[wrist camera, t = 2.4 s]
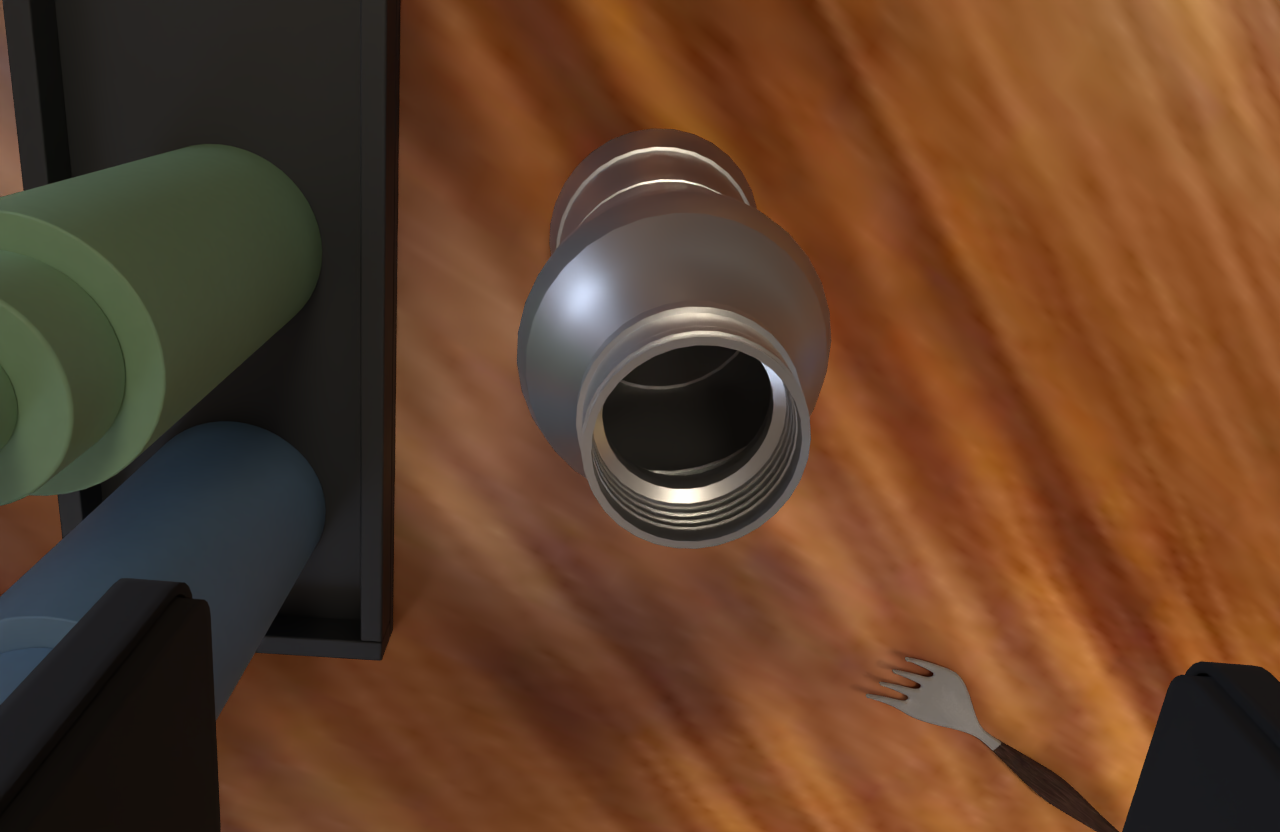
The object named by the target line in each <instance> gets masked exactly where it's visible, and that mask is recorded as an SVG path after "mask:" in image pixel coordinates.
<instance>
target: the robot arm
mask: <svg viewBox="0 0 1280 832" xmlns="http://www.w3.org/2000/svg"><path fill="white" fill-rule="evenodd" d="M0 832H220V804H219V782H218V761H217V739H216V717H215V696H214V674H213V652H212V631H211V614H210V607H209V605H208V602H207V601H206V600H205V599H193V598H192V593H191V590H190V588H189V586H188V585H187V584H186V583H185V582H173V581H160V580H147V579H134V578H121V579H119V580H118V581H117V582H115V583H114V584H113V585H112V586H111V587H110V588H109V589H108V590H107V591H106V593H105V594H104V595H103V596H102V597H101V598H100V599H99V600H98V601H97V602H96V603H95V604H94V605H93V606H92V608H91V609H90V610H89V611H88V612H87V613H86V614H85V615H84V616H83V617H82V618H81V619H80V620H79V621H78V622H77V624H76V625H75V626H74V627H73V628H72V629H71V630H70V631H69V632H68V633H67V634H66V635H65V636H64V637H63V639H62V640H61V641H60V642H59V643H58V644H57V645H56V646H55V647H54V648H53V649H52V650H51V651H50V652H49V653H48V655H47V656H46V657H45V658H44V659H43V660H42V661H41V662H40V663H39V664H38V665H37V666H36V667H35V668H34V670H33V671H32V672H31V673H30V674H29V675H28V676H27V677H26V678H25V679H24V680H23V681H22V682H21V683H20V685H19V686H18V687H17V688H16V689H15V690H14V691H13V692H12V693H11V694H10V695H9V696H8V697H7V698H6V699H5V701H4V702H3V703H2V704H1V705H0ZM1122 832H1280V682H1279V681H1278V680H1277V679H1276V678H1275V677H1274V676H1273V675H1272V674H1271V673H1269V672H1268V671H1267V670H1265V669H1264V668H1262V667H1258V666H1252V665H1240V664H1227V663H1214V662H1198V663H1195V664H1193V665H1192V666H1191V667H1190V668H1189V669H1188V670H1187V672H1186V674H1185V675H1180V676H1177V677H1175V678H1174V679H1173V680H1172V681H1171V683H1170V685H1169V688H1168V690H1167V693H1166V696H1165V699H1164V703H1163V706H1162V709H1161V712H1160V715H1159V718H1158V721H1157V725H1156V728H1155V731H1154V734H1153V737H1152V740H1151V743H1150V746H1149V750H1148V753H1147V756H1146V759H1145V762H1144V765H1143V768H1142V771H1141V775H1140V778H1139V781H1138V784H1137V787H1136V790H1135V793H1134V797H1133V800H1132V803H1131V806H1130V809H1129V812H1128V815H1127V818H1126V822H1125V825H1124V828H1123V831H1122Z"/></svg>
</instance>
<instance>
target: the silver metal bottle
mask: <svg viewBox="0 0 1280 832" xmlns="http://www.w3.org/2000/svg"><path fill="white" fill-rule="evenodd" d="M550 251H551V257H550V258H549V260H548V261H547V263H546V264H545V265H544V267H543V269H542V270H541V272H540V273H539V275H538V277H537V279H536V281H535V283H534V285H533V287H532V290H531V292H530V294H529V296H528V298H527V300H526V302H525V306H524V310H523V314H522V318H521V323H520V327H519V331H518V348H517V366H518V371H519V377H520V383H521V389H522V393H523V395H524V398H525V400H526V403H527V406H528V408H529V411H530V413H531V416H532V418H533V420H534V421H535V423H536V424H537V426H538V427H539V429H540V430H541V432H542V433H543V435H544V436H545V438H546V439H547V441H548V442H549V444H550V445H551V446H552V448H553V449H554V450H555V452H556V453H557V454H558V455H559V456H560V457H561V458H562V459H563V460H564V461H565V462H566V463H567V464H568V465H569V466H570V467H571V468H572V469H573V470H574V471H576V472H577V473H579V474H580V475H582V476H583V477H585V478H586V479H587V480H588V482H589V485H590V488H591V490H592V492H593V494H594V496H595V497H596V499H597V500H598V502H599V503H600V505H601V506H602V508H603V509H604V511H605V512H606V513H607V514H608V515H609V516H610V517H611V518H612V519H613V520H614V521H615V522H616V523H617V524H618V525H619V526H621V527H623V528H624V529H626V530H627V531H629V532H630V533H632V534H633V535H635V536H637V537H639V538H642V539H644V540H646V541H649V542H651V543H654V544H658V545H663V546H668V547H673V548H695V549H697V548H704V547H710V546H716V545H721V544H723V543H726V542H729V541H732V540H735V539H738V538H740V537H742V536H744V535H746V534H748V533H750V532H751V531H753V530H755V529H757V528H759V527H760V526H761V525H762V524H764V523H765V522H766V521H767V520H769V519H770V518H771V517H772V516H774V515H775V514H776V513H777V512H778V511H779V509H780V508H781V507H782V506H783V505H784V504H785V503H786V501H787V500H788V499H789V498H790V496H791V495H792V493H793V491H794V490H795V488H796V486H797V485H798V483H799V481H800V480H801V477H802V474H803V471H804V469H805V466H806V463H807V460H808V454H809V447H810V440H811V436H810V419H809V417H810V415H811V413H812V412H813V410H814V407H815V405H816V402H817V399H818V396H819V393H820V390H821V388H822V385H823V382H824V378H825V375H826V372H827V366H828V359H829V352H830V345H831V329H830V312H829V308H828V304H827V300H826V297H825V293H824V290H823V286H822V282H821V280H820V278H819V277H818V275H817V273H816V271H815V269H814V267H813V265H812V263H811V261H810V259H809V257H808V256H807V255H806V253H805V252H804V251H803V250H802V249H801V247H800V246H799V245H798V244H797V243H796V241H795V240H794V239H793V238H792V237H791V235H790V234H789V233H788V232H787V231H785V230H784V229H783V228H781V227H780V226H779V225H778V224H776V223H775V222H774V221H772V220H771V219H770V218H768V217H767V216H766V215H765V214H763V213H761V212H760V211H759V210H757V207H756V204H755V200H754V197H753V193H752V190H751V188H750V186H749V184H748V182H747V180H746V179H745V177H744V175H743V173H742V171H741V170H740V169H739V168H738V166H737V165H736V164H735V163H734V162H733V160H732V159H731V158H730V157H729V156H728V155H727V154H726V153H724V152H723V151H722V150H720V149H719V148H718V147H717V146H715V145H714V144H713V143H711V142H709V141H707V140H705V139H703V138H701V137H699V136H696V135H694V134H691V133H687V132H683V131H679V130H675V129H646V130H641V131H635V132H630V133H628V134H625V135H622V136H620V137H617V138H615V139H612V140H610V141H608V142H607V143H605V144H604V145H602V146H600V147H599V148H597V149H596V150H594V151H593V152H592V153H590V154H589V155H588V156H587V157H586V158H585V159H584V160H583V161H582V162H581V163H580V164H579V165H578V166H577V167H576V168H575V170H574V171H573V172H572V174H571V175H570V177H569V178H568V179H567V181H566V182H565V184H564V186H563V188H562V190H561V192H560V194H559V196H558V199H557V201H556V203H555V207H554V211H553V215H552V219H551V223H550Z"/></svg>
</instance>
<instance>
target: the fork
mask: <svg viewBox="0 0 1280 832" xmlns="http://www.w3.org/2000/svg"><path fill="white" fill-rule="evenodd" d="M905 659H906V661H909V662H912V663H915V664H917V665H919V666H921V667H923V668H926V669H928V670H930V671H931V672H933V676H931V677H925V676H921V675H917V674H913V673H909V672H905V671H900V670H894V669H893V670H892V671H893V672H894V673H895V674H898V675H901V676H903V677H906V678H908V679H910V680H913V681H915V682H917V683H919V684H920V685H921V687H920V688H918V689H913V688H909V687H905V686H901V685H897V684H892V683H886V682H879V683H880V685H882V686H885V687H888V688H890V689H893V690H896V691H898V692H900V693H903V694H905V695H907V696H908V699H907V700H897V699H893V698H889V697H884V696H879V695H873V694H866V697H867V698H871V699H875V700H878V701H881V702H883V703H886V704H889V705H891V706H893V707H895V708H897V709H899V710H901V711H902V712H904V713H906V714H907V715H909V716H911V717H913V718H916V719H918V720H921V721H924V722H928V723H931V724H935V725H939V726H944V727H948V728H952V729H956V730H960V731H963V732H966V733H969V734H971V735H973V736H975V737H977V738H978V739H980V740H981V741H983V742H984V743H985V744H986V745H987V746H988V747H989V748H990V749H991V750H992V751H994V752H995V753H996V754H997V755H998V756H999V757H1000V758H1001V759H1002V760H1003V761H1004V762H1005V763H1006V764H1007V765H1008V766H1009V767H1010V768H1011V769H1012V770H1013V771H1014V772H1015V773H1016V774H1017V775H1018V776H1019V777H1020V778H1021V779H1022V780H1023V781H1024V782H1025V783H1026V784H1027V785H1028V786H1029V787H1030V788H1031V789H1033V790H1034V791H1035V792H1036V793H1037V794H1038V795H1039V796H1041V797H1042V798H1043V799H1044V800H1046V801H1047V802H1049V803H1050V804H1052V805H1053V806H1055V807H1056V808H1058V809H1060V810H1061V811H1063V812H1065V813H1066V814H1068V815H1070V816H1071V817H1073V818H1075V819H1077V820H1078V821H1080V822H1082V823H1083V824H1085V825H1087V826H1088V827H1090V828H1092V829H1093V830H1095V831H1097V832H1119V831H1118V830H1116V829H1115V828H1114V827H1113V826H1112V825H1111V824H1110V823H1109V822H1108V821H1107V820H1106V819H1105V818H1103V817H1102V816H1101V815H1100V814H1099V813H1098V812H1097V811H1096V810H1095V809H1094V808H1093V807H1092V806H1091V805H1090V804H1089V803H1088V802H1087V801H1086V800H1085V799H1084V798H1083V797H1082V796H1081V795H1080V794H1079V793H1078V792H1077V791H1076V790H1075V789H1074V788H1073V787H1071V786H1070V785H1069V784H1068V783H1067V782H1066V781H1065V780H1063V779H1062V778H1061V777H1059V776H1058V775H1057V774H1055V773H1054V772H1052V771H1051V770H1049V769H1047V768H1046V767H1044V766H1043V765H1041V764H1039V763H1037V762H1036V761H1034V760H1032V759H1031V758H1029V757H1027V756H1026V755H1024V754H1022V753H1020V752H1019V751H1017V750H1015V749H1013V748H1012V747H1010V746H1008V745H1006V744H1005V743H1003V742H1001V741H1000V740H998V739H996V738H995V737H993V736H992V735H990V734H989V733H987V732H986V731H985V730H984V729H983V728H982V727H981V726H980V724H979V722H978V720H977V717H976V715H975V712H974V709H973V705H972V702H971V699H970V695H969V693H968V690H967V688H966V686H965V684H964V682H963V680H962V679H961V678H960V676H959V675H958V674H956V673H955V672H954V671H952V670H950V669H947V668H945V667H942V666H939V665H936V664H933V663H930V662H926V661H923V660H919V659H914V658H910V657H905Z"/></svg>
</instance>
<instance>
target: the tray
mask: <svg viewBox="0 0 1280 832" xmlns="http://www.w3.org/2000/svg"><path fill="white" fill-rule="evenodd" d="M2 1H3V10H4V19H5V27H6V36H7V45H8V54H9V63H10V72H11V81H12V90H13V99H14V108H15V117H16V126H17V135H18V144H19V153H20V162H21V171H22V180H23V189H24V191H26V190H29V189H33V188H37V187H40V186H44V185H48V184H51V183H55V182H59V181H63V180H66V179H70V178H74V177H77V176H81V175H85V174H88V173H92V172H96V171H99V170H103V169H107V168H111V167H114V166H118V165H122V164H125V163H129V162H133V161H136V160H140V159H144V158H147V157H151V156H155V155H159V154H162V153H166V152H170V151H173V150H177V149H181V148H185V147H189V146H192V145H201V144H221V145H228V146H233V147H237V148H240V149H244V150H247V151H249V152H252V153H254V154H256V155H259V156H260V157H262V158H264V159H266V160H267V161H269V162H271V163H272V164H273V165H275V166H276V167H277V168H279V169H280V170H281V171H283V172H284V173H285V174H286V175H287V176H288V177H289V178H290V179H291V180H292V181H293V182H294V183H295V185H296V186H297V187H298V188H299V189H300V191H301V192H302V194H303V195H304V197H305V198H306V200H307V201H308V203H309V205H310V207H311V209H312V211H313V213H314V215H315V218H316V221H317V224H318V227H319V231H320V236H321V243H322V265H321V270H320V275H319V278H318V281H317V284H316V287H315V289H314V291H313V293H312V295H311V297H310V298H309V300H308V301H307V303H306V304H305V305H304V307H303V308H302V309H301V310H300V311H299V312H298V313H297V314H296V315H295V316H294V317H293V318H292V319H291V320H290V321H289V322H287V323H286V324H285V325H284V326H283V327H282V328H281V329H280V330H279V331H277V332H276V333H275V334H274V335H273V336H272V337H271V338H270V339H269V340H267V341H266V342H265V343H264V344H263V345H262V346H261V347H260V348H259V349H257V350H256V351H255V352H254V353H253V354H252V355H251V356H250V357H249V358H247V359H246V360H245V361H244V362H243V363H242V364H241V365H240V366H238V367H237V368H236V369H235V370H234V371H233V372H232V373H231V374H230V375H228V376H227V377H226V378H225V379H224V380H223V381H222V382H221V383H220V384H218V385H217V386H216V387H215V388H214V389H213V390H212V391H211V392H210V393H208V394H207V395H206V396H205V397H204V398H203V399H202V400H201V401H200V402H198V403H197V404H196V405H195V406H194V407H193V408H192V409H191V410H190V411H188V412H187V413H186V414H185V415H184V416H183V417H182V418H181V419H180V420H178V421H177V422H176V423H175V424H174V425H173V426H172V427H171V428H170V429H168V430H167V431H166V432H165V433H164V434H163V435H162V436H161V437H159V438H158V439H157V440H156V441H155V442H154V443H153V444H152V445H151V446H149V447H148V448H147V449H146V450H145V451H144V452H143V453H142V454H141V455H139V456H138V457H137V458H136V459H135V460H134V461H133V462H132V463H131V464H129V465H128V466H127V467H125V468H124V469H123V470H122V471H120V472H119V473H118V474H116V475H115V476H113V477H111V478H109V479H107V480H106V481H104V482H102V483H100V484H97V485H95V486H92V487H89V488H87V489H84V490H80V491H75V492H71V493H67V494H58V503H59V512H60V521H61V530H62V539H63V538H64V537H65V536H66V535H68V534H69V533H70V532H71V531H72V530H73V529H74V528H75V527H76V526H77V525H78V524H79V523H81V522H82V521H83V520H84V519H85V518H86V517H87V516H88V515H89V514H90V513H91V512H92V511H93V510H95V509H96V508H97V507H98V506H99V505H100V504H101V503H102V502H103V501H104V500H105V499H106V498H108V497H109V496H110V495H111V494H112V493H113V492H114V491H115V490H116V489H117V488H118V487H119V486H121V485H122V484H123V483H124V482H125V481H126V480H127V479H128V478H129V477H130V476H131V475H132V474H133V473H135V472H136V471H137V470H138V469H139V468H140V467H141V466H142V465H143V464H144V463H145V462H146V461H148V460H149V459H150V458H151V457H152V456H153V455H154V454H155V453H156V452H157V451H158V450H159V449H160V448H162V447H163V446H164V445H165V444H166V443H167V442H168V441H169V440H171V439H172V438H173V437H175V436H176V435H177V434H179V433H181V432H183V431H185V430H186V429H189V428H191V427H194V426H197V425H201V424H205V423H209V422H219V421H231V422H240V423H246V424H250V425H254V426H257V427H260V428H263V429H265V430H268V431H270V432H272V433H274V434H276V435H278V436H279V437H281V438H282V439H284V440H285V441H287V442H288V443H290V444H291V445H292V446H293V447H294V448H295V449H297V450H298V451H299V452H300V453H301V454H302V455H303V457H304V458H305V459H306V460H307V461H308V463H309V464H310V465H311V467H312V468H313V470H314V472H315V474H316V475H317V477H318V479H319V482H320V484H321V487H322V490H323V494H324V498H325V507H326V515H325V524H324V528H323V532H322V535H321V537H320V540H319V542H318V543H317V545H316V547H315V549H314V551H313V552H312V554H311V556H310V558H309V559H308V561H307V563H306V565H305V566H304V568H303V570H302V571H301V573H300V575H299V577H298V578H297V580H296V582H295V584H294V585H293V587H292V589H291V591H290V592H289V594H288V596H287V598H286V599H285V601H284V603H283V605H282V606H281V608H280V610H279V612H278V613H277V615H276V617H275V619H274V620H273V622H272V624H271V626H270V627H269V629H268V631H267V633H266V634H265V636H264V638H263V640H262V641H261V643H260V645H259V647H258V648H257V650H256V652H255V653H269V654H285V655H301V656H316V657H332V658H348V659H364V660H382V658H383V655H384V653H385V650H386V647H387V644H388V642H389V639H390V636H391V633H392V631H393V564H394V479H395V394H396V309H397V224H398V139H399V55H400V0H2Z"/></svg>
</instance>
